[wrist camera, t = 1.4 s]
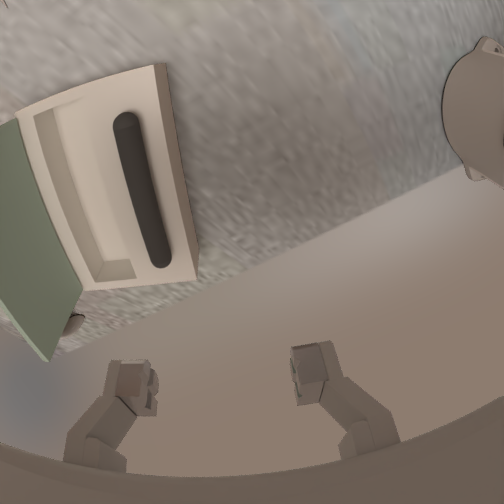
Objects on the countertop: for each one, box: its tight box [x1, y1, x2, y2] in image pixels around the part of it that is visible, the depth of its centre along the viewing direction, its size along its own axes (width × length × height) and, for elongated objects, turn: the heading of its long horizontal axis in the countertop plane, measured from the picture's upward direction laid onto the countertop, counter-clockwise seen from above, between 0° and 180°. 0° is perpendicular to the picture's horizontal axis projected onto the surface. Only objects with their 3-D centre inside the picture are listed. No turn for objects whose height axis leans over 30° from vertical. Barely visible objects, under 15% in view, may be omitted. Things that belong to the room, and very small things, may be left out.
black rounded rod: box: [113, 112, 172, 268], centre depth 23 cm, size 2×14×2 cm, turn 4°
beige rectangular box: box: [14, 63, 199, 291], centre depth 25 cm, size 13×20×5 cm, turn 4°
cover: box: [0, 118, 83, 362], centre depth 19 cm, size 10×19×1 cm
